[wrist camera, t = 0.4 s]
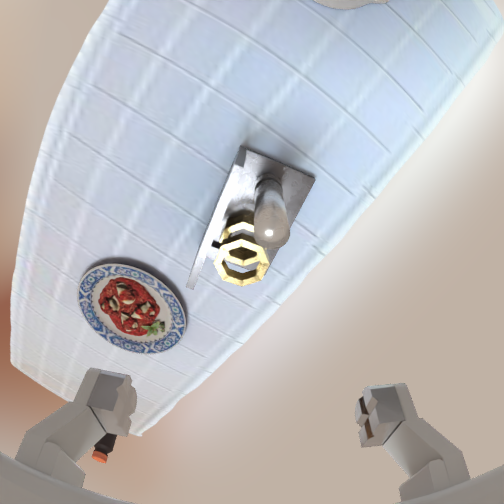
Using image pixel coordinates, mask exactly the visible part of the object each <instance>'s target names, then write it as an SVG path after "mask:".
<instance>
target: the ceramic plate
mask: <svg viewBox="0 0 504 504" xmlns="http://www.w3.org/2000/svg"><path fill="white" fill-rule="evenodd" d="M77 300H78V305H79V308H80V310H81V313H82V315H83V317H84V318H85V320H86V321H87V323H88V324H89V325H90V327H91V328H92V329H93V330H94V331H95V332H96V333H97V334H98V335H99V336H100V337H102V338H103V339H105V340H106V341H108V342H109V343H111V344H112V345H114V346H116V347H118V348H121V349H124V350H126V351H129V352H133V353H139V354H157V353H162V352H165V351H168V350H170V349H172V348H173V347H175V346H176V345H177V344H178V343H179V342H180V341H181V339H182V337H183V335H184V333H185V328H186V318H185V314H184V311H183V308H182V306H181V304H180V302H179V300H178V299H177V297H176V296H175V295H174V293H173V292H172V291H171V290H170V289H169V288H168V287H167V286H166V285H165V284H164V283H162V282H161V281H160V280H159V279H157V278H156V277H154V276H153V275H151V274H149V273H147V272H145V271H143V270H141V269H138V268H136V267H132V266H129V265H124V264H104V265H100V266H97V267H95V268H92V269H91V270H89V271H88V272H87V273H86V274H85V275H84V276H83V277H82V279H81V280H80V283H79V285H78V290H77Z"/></svg>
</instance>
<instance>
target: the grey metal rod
mask: <svg viewBox="0 0 504 504" xmlns="http://www.w3.org/2000/svg"><path fill="white" fill-rule="evenodd" d="M289 236H290V229H289V224H288V219H287V213H286V208H285V203H284V198H283V190H282V186H281V183H280V180H279V179H278V177H277V176H275V175H273V174H269V173H267V174H263V175H261V176H260V177H259V178H258V179H257V181H256V186H255V212H254V238H255V240H256V242H257V243H258V244H259V245H260V246H261V247H263V248H266V249H277V248H280V247H282V246H283V245H285V244H286V242H287V241H288V239H289Z"/></svg>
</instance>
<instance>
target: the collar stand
mask: <svg viewBox="0 0 504 504" xmlns="http://www.w3.org/2000/svg"><path fill="white" fill-rule="evenodd" d="M267 173H269V174H273V175H275V176H277V177H278V179H279V180H280V183H281V186H282V190H283V198H284V203H285V208H286V213H287V219H288V224H289V229H290V227H291V225H292V224H293V222H294V220H295V218H296V216H297V214H298V212H299V210H300V208H301V207H302V205H303V203H304V201H305V199H306V197H307V195H308V193H309V191H310V189H311V188H312V186H313V184H314V182H315V178H314V177H312V176H309V175H307V174H305V173H303V172H301V171H298V170H296V169H294V168H292V167H290V166H287V165H285V164H283V163H280V162H278V161H276V160H273V159H271V158H269V157H266V156H264V155H262V154H259V153H257V152H254V151H252V150H249V149H247V148H245V147H242V146H240V148H239V150H238V152H237V155H236V157H235V159H234V162H233V164H232V166H231V169H230V171H229V173H228V176H227V178H226V181H225V183H224V186H223V188H222V190H221V193H220V195H219V198H218V200H217V203H216V205H215V208H214V210H213V213H212V215H211V218H210V220H209V223H208V225H207V228H206V230H205V233H204V235H203V238H202V241H201V243H200V246H199V249H198V251H197V254H196V257H195V260H194V264H193V267H192V270H191V273H190V276H189V279H188V282H187V285H186V287H187V288H190V289H192V290H193V289H194V287H195V284H196V282H197V279H198V277H199V274H200V272H201V269H202V267H203V264H204V262H205V259H206V257H207V258H210V259H213V260H214V265H215V267H216V268H217V270H218V272H219V274H220V276H221V278H222V279H223V280H225V281H228V282H231V283H233V284H236V285H239V286H245V285H248V284H251V283H255V282H258V281H261V279H262V277H263V276H265V274H266V272H267V270H268V268H269V266H270V265H271V263H272V261H273V259H274V257H275V255H276V253H277V252H278V250H279V248H277V249H266V248H263V247H261V246H260V245H259V244H258V243H257V242H256V240H255V238H254V212H255V186H256V181H257V179H258V178H259V177H260V176H261V175H263V174H267ZM225 261H226V262H229V263H231V264H234V265H237V266H239V267H242V268H245V269H248V270H250V271H248V272H245V273H240V272H237V271H234V270H232V269H229V268H228V266H227V264H226V262H225Z"/></svg>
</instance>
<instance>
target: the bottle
mask: <svg viewBox="0 0 504 504" xmlns="http://www.w3.org/2000/svg"><path fill="white" fill-rule="evenodd" d="M116 437H117V435H116V434H111V433H106V434H105V435H104V436H103V437H102V438H101V439H100V440H99V441H98V442H97V443H96V444H95V445H94V447H95V450H94V452H93V455H92V458H93V459H95V460H97V461H99V462H102V463H106V461H107V456H108V455H107V454H108V453H110V452H112V450H113V447H114V443H115V440H116Z"/></svg>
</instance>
